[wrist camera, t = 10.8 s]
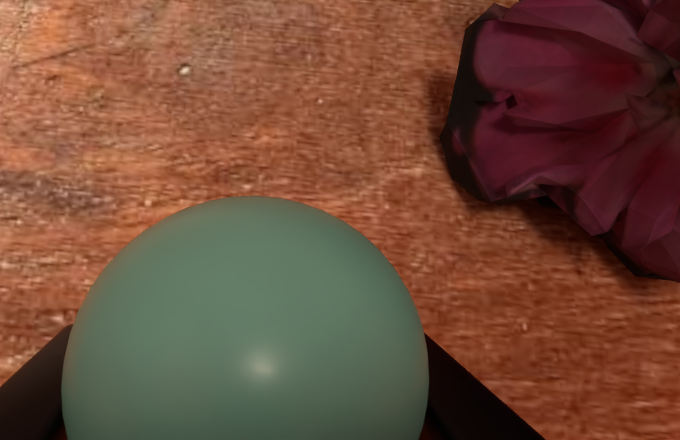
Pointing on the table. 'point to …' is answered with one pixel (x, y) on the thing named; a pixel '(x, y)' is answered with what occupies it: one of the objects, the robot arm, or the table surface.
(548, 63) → the flower arrangement
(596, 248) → the table surface
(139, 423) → the lever
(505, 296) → the table surface
